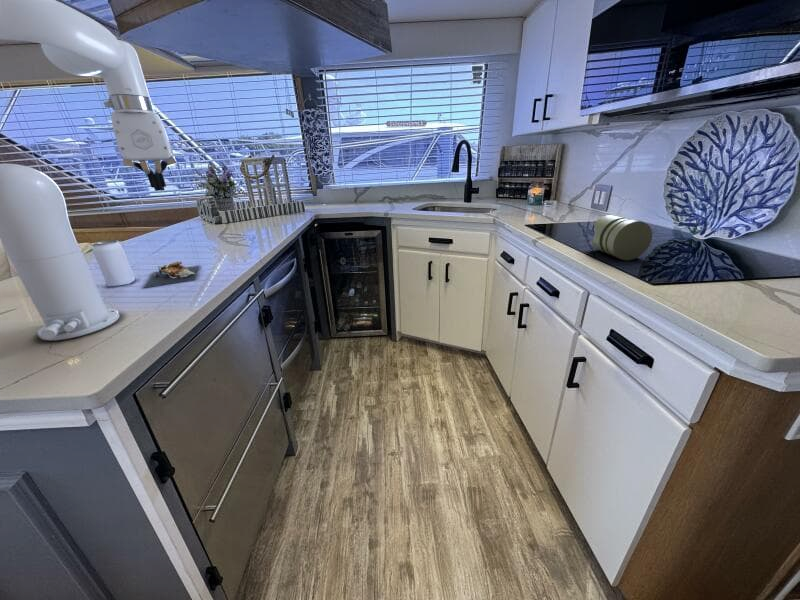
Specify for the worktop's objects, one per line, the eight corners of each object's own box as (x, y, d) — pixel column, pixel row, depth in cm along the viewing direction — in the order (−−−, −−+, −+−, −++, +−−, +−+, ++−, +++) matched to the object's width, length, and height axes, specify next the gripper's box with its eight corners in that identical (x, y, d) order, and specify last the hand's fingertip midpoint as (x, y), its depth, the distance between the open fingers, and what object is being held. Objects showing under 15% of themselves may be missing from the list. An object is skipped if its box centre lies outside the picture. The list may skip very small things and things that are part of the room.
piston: (618, 249, 106) (626, 214, 101) (646, 259, 95) (656, 220, 90) (585, 250, 105) (592, 215, 101) (609, 261, 94) (618, 222, 90)
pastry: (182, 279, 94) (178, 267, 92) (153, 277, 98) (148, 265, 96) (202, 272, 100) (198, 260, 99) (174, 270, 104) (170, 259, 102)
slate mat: (194, 280, 93) (194, 279, 93) (144, 288, 89) (144, 287, 89) (198, 266, 107) (197, 266, 107) (154, 272, 102) (154, 272, 102)
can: (119, 287, 90) (102, 245, 85) (101, 286, 91) (83, 245, 86) (141, 279, 96) (125, 240, 91) (123, 279, 97) (107, 239, 92)
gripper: (86, 103, 68) (119, 193, 75) (169, 105, 74) (192, 189, 81) (98, 108, 74) (127, 191, 82) (173, 110, 80) (194, 187, 88)
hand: (160, 190), depth 82 cm, fingers closed
